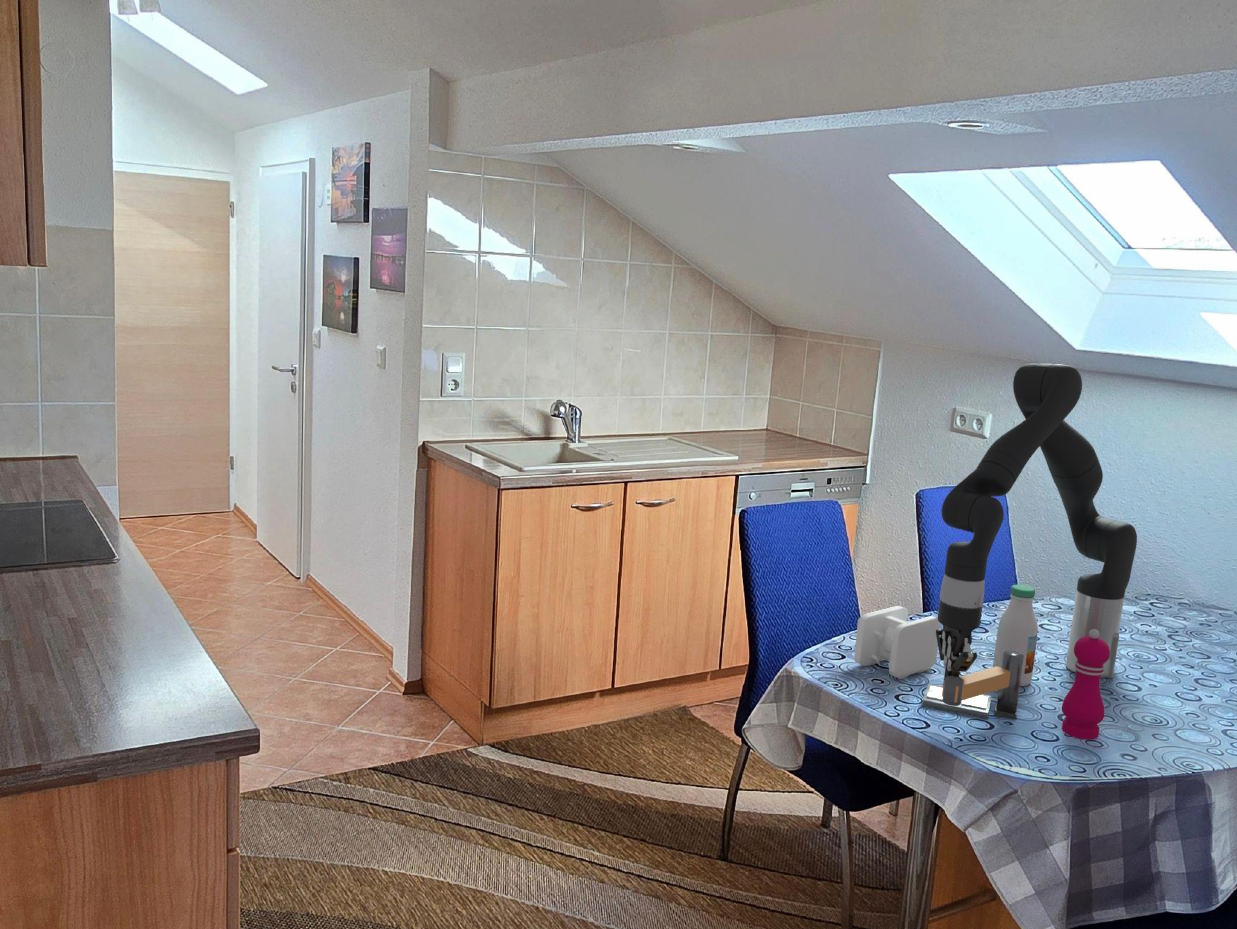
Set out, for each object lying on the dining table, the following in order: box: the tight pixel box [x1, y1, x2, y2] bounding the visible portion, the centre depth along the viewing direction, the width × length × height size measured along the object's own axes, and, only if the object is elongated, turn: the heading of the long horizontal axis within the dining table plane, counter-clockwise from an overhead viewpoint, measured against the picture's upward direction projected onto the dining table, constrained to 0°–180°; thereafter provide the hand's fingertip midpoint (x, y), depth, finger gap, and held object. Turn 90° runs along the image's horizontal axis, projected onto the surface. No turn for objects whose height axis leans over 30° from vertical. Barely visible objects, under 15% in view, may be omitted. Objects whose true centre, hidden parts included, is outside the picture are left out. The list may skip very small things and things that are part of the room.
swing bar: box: [942, 666, 1011, 706], centre depth 192 cm, size 16×3×4 cm, turn 124°
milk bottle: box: [992, 584, 1039, 687], centre depth 215 cm, size 8×8×20 cm
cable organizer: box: [853, 605, 942, 680], centre depth 219 cm, size 15×11×12 cm
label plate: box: [921, 683, 992, 720], centre depth 203 cm, size 12×9×2 cm
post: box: [993, 651, 1024, 721], centre depth 199 cm, size 4×4×12 cm
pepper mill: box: [1061, 629, 1110, 741], centre depth 191 cm, size 7×7×20 cm
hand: (950, 687), depth 195 cm, fingers closed
